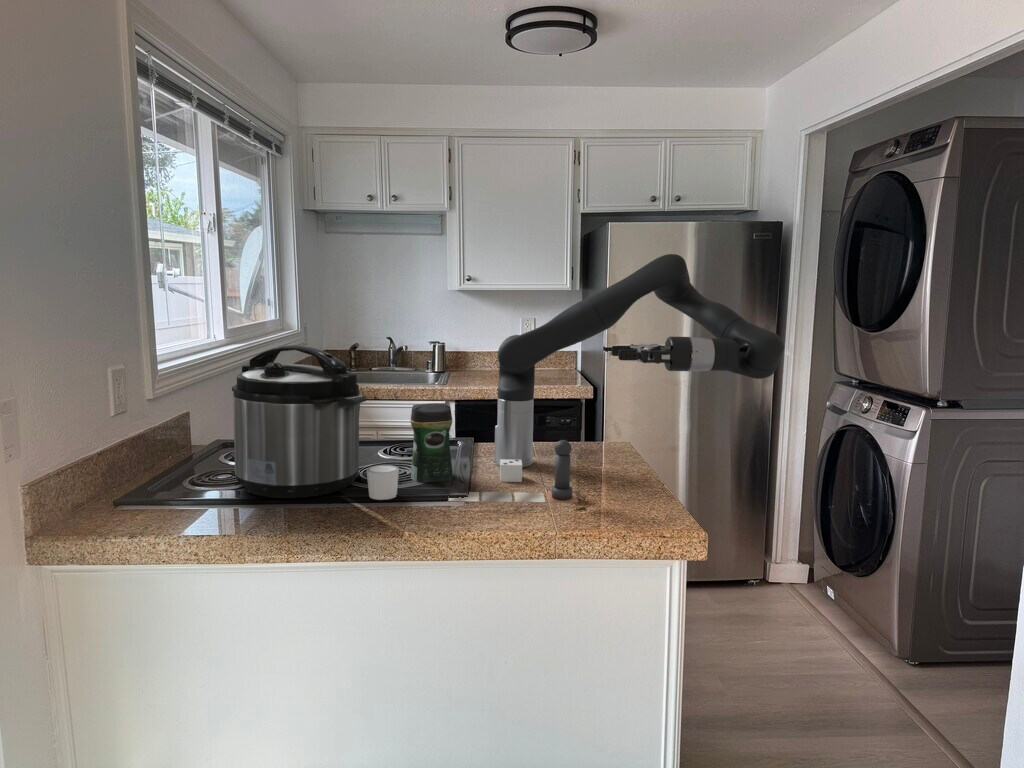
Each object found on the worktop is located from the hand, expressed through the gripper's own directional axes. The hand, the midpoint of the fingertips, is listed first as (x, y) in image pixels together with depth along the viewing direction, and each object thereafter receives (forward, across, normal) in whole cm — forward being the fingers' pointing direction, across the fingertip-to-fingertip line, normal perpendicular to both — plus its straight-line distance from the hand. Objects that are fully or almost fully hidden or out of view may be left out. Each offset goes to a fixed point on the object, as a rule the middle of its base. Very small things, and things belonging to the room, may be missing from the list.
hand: (615, 352), depth 150 cm
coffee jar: (+40, -10, +32) cm, 52 cm away
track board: (+22, +5, +32) cm, 39 cm away
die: (+22, -9, +32) cm, 40 cm away
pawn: (+11, +5, +31) cm, 33 cm away
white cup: (+50, +5, +32) cm, 59 cm away
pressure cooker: (+70, -7, +32) cm, 77 cm away
